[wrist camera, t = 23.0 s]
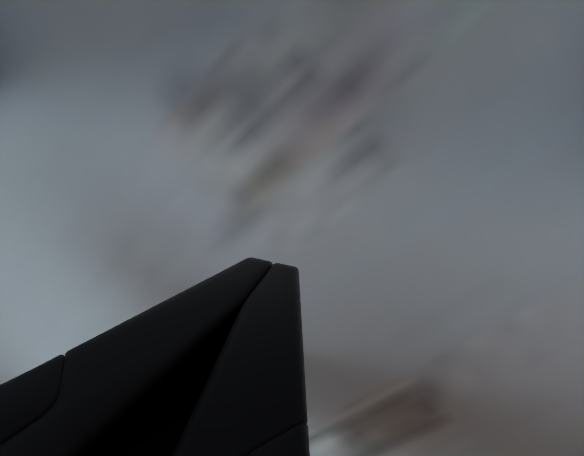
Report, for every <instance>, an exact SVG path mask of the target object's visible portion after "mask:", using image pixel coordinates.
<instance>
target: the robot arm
mask: <svg viewBox="0 0 584 456" xmlns="http://www.w3.org/2000/svg"><path fill="white" fill-rule="evenodd" d="M0 456H310V453H309V436H308V426H307V406H306V389H305V372H304V354H303V337H302V320H301V303H300V285H299V271H298V268H296V267H293V266H289V265H284V264H279V263H275V264H272V263H271V262H270V261H265V260H261V259H256V258H247V259H245V260H243V261H241V262H239V263H237V264H235V265H233V266H231V267H229V268H227V269H226V270H224V271H222V272H220V273H218V274H216V275H214V276H212V277H210V278H208V279H206V280H204V281H202V282H200V283H198V284H197V285H195V286H193V287H191V288H189V289H187V290H185V291H183V292H181V293H179V294H177V295H175V296H173V297H171V298H169V299H168V300H166V301H164V302H162V303H160V304H158V305H156V306H154V307H152V308H150V309H148V310H146V311H144V312H142V313H140V314H139V315H137V316H135V317H133V318H131V319H129V320H127V321H125V322H123V323H121V324H119V325H117V326H115V327H113V328H112V329H110V330H108V331H106V332H104V333H102V334H100V335H98V336H96V337H94V338H92V339H90V340H88V341H86V342H84V343H83V344H81V345H79V346H77V347H75V348H73V349H71V350H69V351H67V352H66V354H65V356H64V355H59V356H57V357H55V358H53V359H51V360H49V361H47V362H45V363H43V364H42V365H40V366H38V367H36V368H34V369H32V370H30V371H28V372H26V373H24V374H22V375H20V376H17V377H15V378H13V379H11V380H9V381H7V382H5V383H3V384H1V385H0Z"/></svg>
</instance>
